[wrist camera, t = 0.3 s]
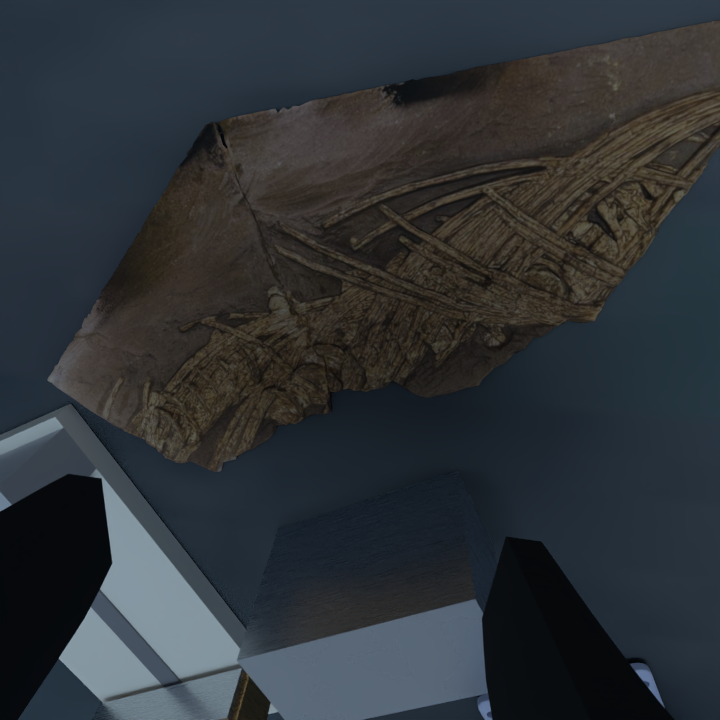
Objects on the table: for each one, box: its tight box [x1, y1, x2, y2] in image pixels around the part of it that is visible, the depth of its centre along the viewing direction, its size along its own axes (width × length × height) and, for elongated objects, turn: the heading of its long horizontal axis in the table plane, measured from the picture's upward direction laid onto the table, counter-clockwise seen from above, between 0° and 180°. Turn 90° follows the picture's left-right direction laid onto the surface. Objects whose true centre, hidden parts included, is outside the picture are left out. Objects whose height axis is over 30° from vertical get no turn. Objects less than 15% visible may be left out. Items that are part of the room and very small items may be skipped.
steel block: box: [237, 471, 497, 720], centre depth 19 cm, size 4×8×6 cm, turn 116°
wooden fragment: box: [48, 20, 720, 472], centre depth 17 cm, size 26×11×1 cm, turn 114°
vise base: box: [0, 404, 278, 714], centre depth 22 cm, size 18×9×4 cm, turn 25°
